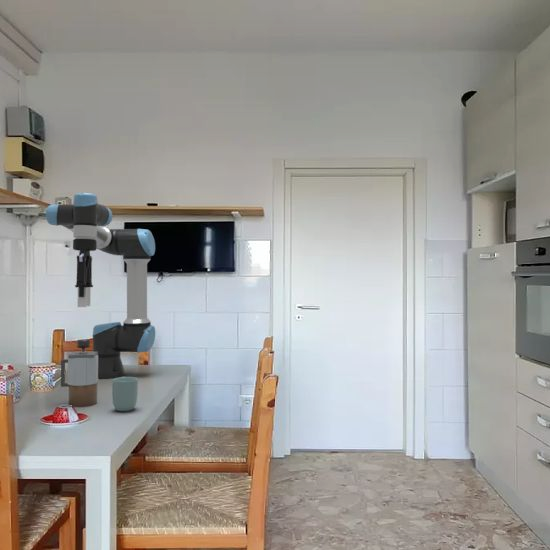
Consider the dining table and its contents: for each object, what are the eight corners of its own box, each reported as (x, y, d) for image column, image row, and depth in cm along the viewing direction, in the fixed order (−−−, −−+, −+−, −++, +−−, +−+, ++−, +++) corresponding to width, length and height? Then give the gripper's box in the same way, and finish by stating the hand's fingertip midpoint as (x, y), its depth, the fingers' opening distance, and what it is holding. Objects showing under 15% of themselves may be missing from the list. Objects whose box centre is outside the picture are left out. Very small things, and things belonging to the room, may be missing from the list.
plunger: (74, 378, 171) (75, 339, 171) (95, 378, 172) (96, 338, 172) (69, 382, 164) (70, 341, 164) (92, 382, 165) (92, 341, 166)
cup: (130, 413, 155) (130, 381, 155) (107, 412, 157) (107, 380, 157) (141, 407, 163) (142, 377, 163) (119, 406, 164) (120, 376, 165)
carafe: (64, 401, 171) (64, 351, 171) (98, 400, 173) (99, 351, 173) (57, 407, 162) (58, 355, 163) (94, 406, 164) (95, 354, 165)
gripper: (79, 241, 178) (78, 305, 177) (66, 236, 159) (65, 308, 158) (101, 241, 179) (100, 305, 179) (91, 236, 160) (90, 307, 160)
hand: (84, 306), depth 169 cm, fingers open, 6 cm apart
